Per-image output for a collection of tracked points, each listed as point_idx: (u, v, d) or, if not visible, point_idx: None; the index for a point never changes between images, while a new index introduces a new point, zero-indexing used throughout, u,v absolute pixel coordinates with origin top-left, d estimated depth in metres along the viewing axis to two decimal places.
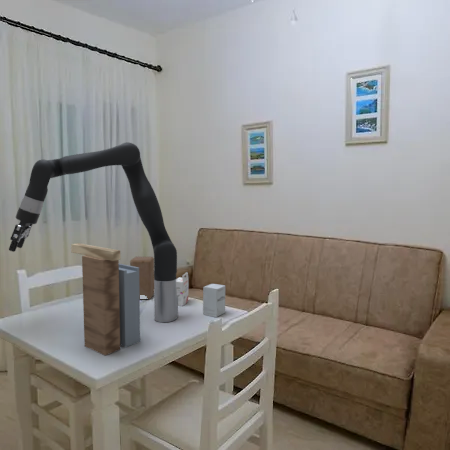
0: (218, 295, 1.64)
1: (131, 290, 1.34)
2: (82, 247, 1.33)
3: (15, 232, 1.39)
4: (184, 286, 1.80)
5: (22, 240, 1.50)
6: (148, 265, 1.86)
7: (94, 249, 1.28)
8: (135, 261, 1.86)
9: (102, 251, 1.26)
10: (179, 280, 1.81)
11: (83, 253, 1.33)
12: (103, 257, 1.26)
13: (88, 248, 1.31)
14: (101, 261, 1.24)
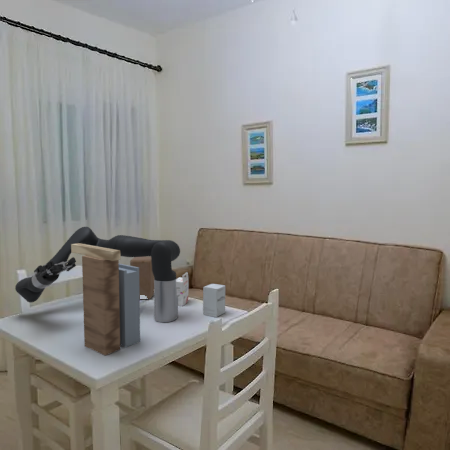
0: (218, 295, 1.64)
1: (131, 290, 1.34)
2: (82, 247, 1.33)
3: (37, 272, 1.42)
4: (184, 286, 1.80)
5: (69, 261, 1.48)
6: (148, 265, 1.86)
7: (94, 249, 1.28)
8: (135, 261, 1.86)
9: (102, 251, 1.26)
10: (179, 280, 1.81)
11: (83, 253, 1.33)
12: (103, 257, 1.26)
13: (88, 248, 1.31)
14: (101, 261, 1.24)
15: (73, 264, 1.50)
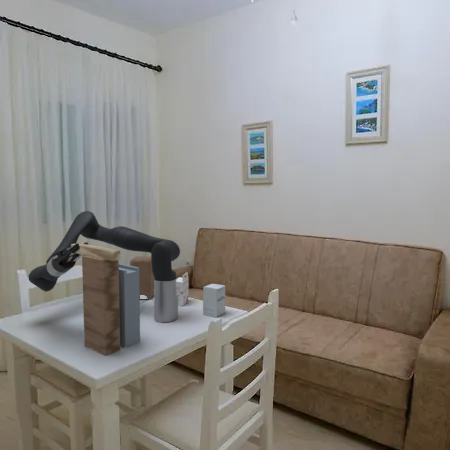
0: (218, 295, 1.64)
1: (131, 290, 1.34)
2: (82, 247, 1.33)
3: (59, 256, 1.35)
4: (184, 286, 1.80)
5: None
6: (148, 265, 1.86)
7: (94, 249, 1.28)
8: (135, 261, 1.86)
9: (102, 251, 1.26)
10: (179, 280, 1.81)
11: (83, 253, 1.33)
12: (103, 257, 1.26)
13: (88, 248, 1.31)
14: (101, 261, 1.24)
15: None
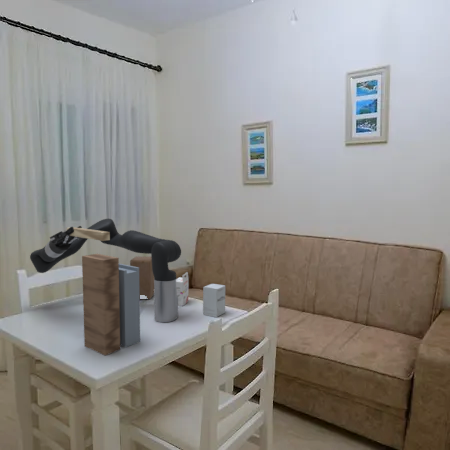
0: (218, 295, 1.64)
1: (131, 290, 1.34)
2: (76, 230, 1.49)
3: (56, 238, 1.51)
4: (184, 286, 1.80)
5: None
6: (148, 265, 1.86)
7: (86, 231, 1.45)
8: (135, 261, 1.86)
9: (93, 233, 1.42)
10: (179, 280, 1.81)
11: (77, 235, 1.49)
12: (94, 238, 1.42)
13: (81, 230, 1.47)
14: (101, 261, 1.24)
15: None
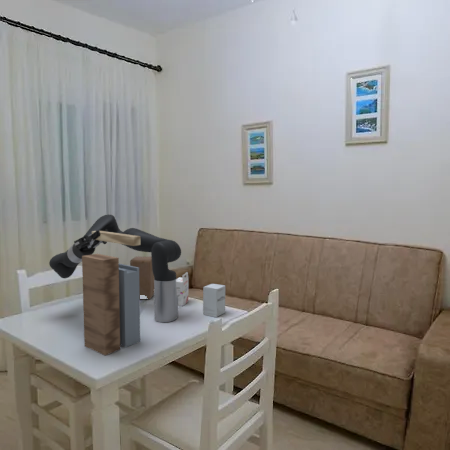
0: (218, 295, 1.64)
1: (131, 290, 1.34)
2: (103, 234, 1.39)
3: (80, 242, 1.41)
4: (184, 286, 1.80)
5: None
6: (148, 265, 1.86)
7: (115, 235, 1.35)
8: (135, 261, 1.86)
9: (123, 237, 1.32)
10: (179, 280, 1.81)
11: (104, 239, 1.39)
12: (124, 243, 1.32)
13: (109, 234, 1.37)
14: (101, 261, 1.24)
15: None
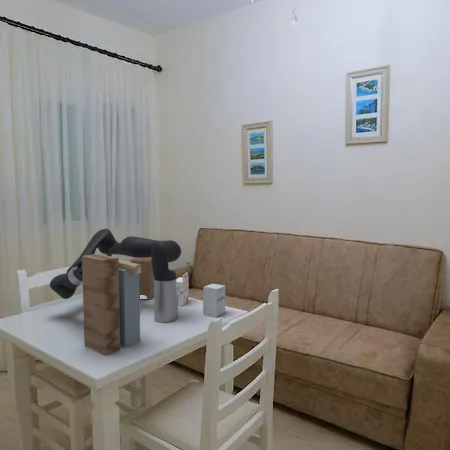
0: (218, 295, 1.64)
1: (131, 290, 1.34)
2: None
3: (77, 267, 1.42)
4: (184, 286, 1.80)
5: None
6: (148, 265, 1.86)
7: None
8: (135, 261, 1.86)
9: (123, 265, 1.33)
10: (179, 280, 1.81)
11: None
12: None
13: None
14: (101, 261, 1.24)
15: None
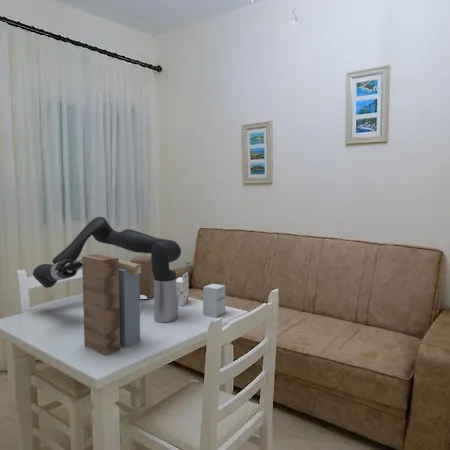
0: (218, 295, 1.64)
1: (131, 290, 1.34)
2: None
3: (58, 271, 1.47)
4: (184, 286, 1.80)
5: None
6: (148, 265, 1.86)
7: None
8: (135, 261, 1.86)
9: (123, 265, 1.33)
10: (179, 280, 1.81)
11: None
12: None
13: None
14: (101, 261, 1.24)
15: None
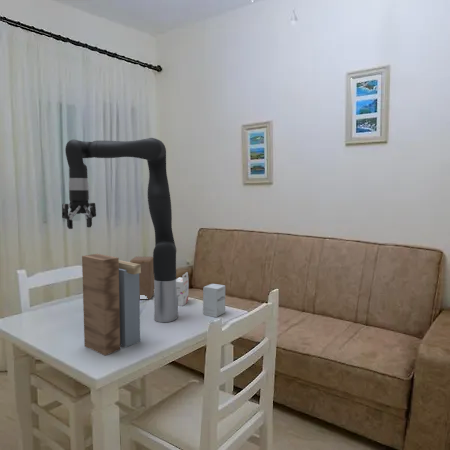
0: (218, 295, 1.64)
1: (131, 290, 1.34)
2: None
3: (63, 210, 1.54)
4: (184, 286, 1.80)
5: (88, 220, 1.63)
6: (148, 265, 1.86)
7: None
8: (135, 261, 1.86)
9: (123, 265, 1.33)
10: (179, 280, 1.81)
11: None
12: None
13: None
14: (101, 261, 1.24)
15: None
